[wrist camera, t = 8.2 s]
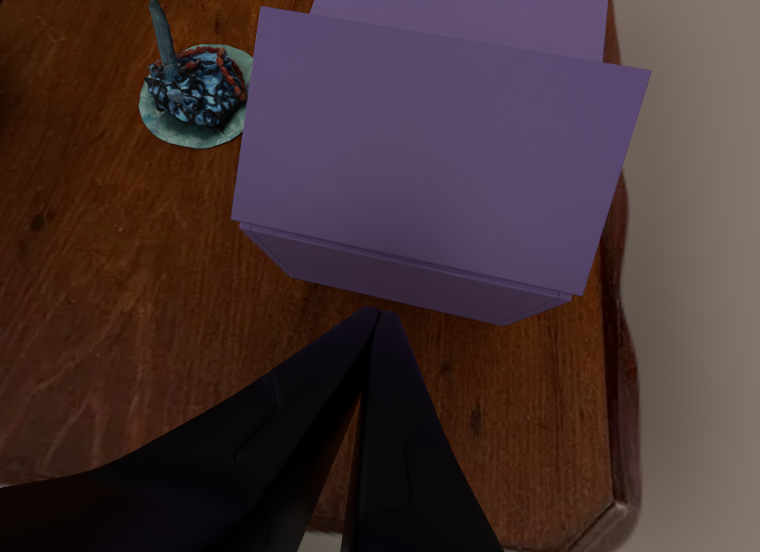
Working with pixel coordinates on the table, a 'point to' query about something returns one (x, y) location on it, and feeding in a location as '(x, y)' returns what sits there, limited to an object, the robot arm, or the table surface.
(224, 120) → the dish
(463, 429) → the table surface
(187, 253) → the table surface
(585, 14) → the file box
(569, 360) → the table surface
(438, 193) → the flap
